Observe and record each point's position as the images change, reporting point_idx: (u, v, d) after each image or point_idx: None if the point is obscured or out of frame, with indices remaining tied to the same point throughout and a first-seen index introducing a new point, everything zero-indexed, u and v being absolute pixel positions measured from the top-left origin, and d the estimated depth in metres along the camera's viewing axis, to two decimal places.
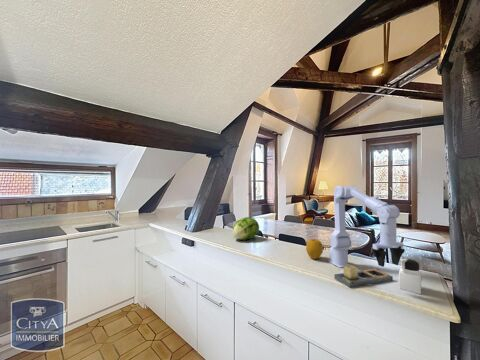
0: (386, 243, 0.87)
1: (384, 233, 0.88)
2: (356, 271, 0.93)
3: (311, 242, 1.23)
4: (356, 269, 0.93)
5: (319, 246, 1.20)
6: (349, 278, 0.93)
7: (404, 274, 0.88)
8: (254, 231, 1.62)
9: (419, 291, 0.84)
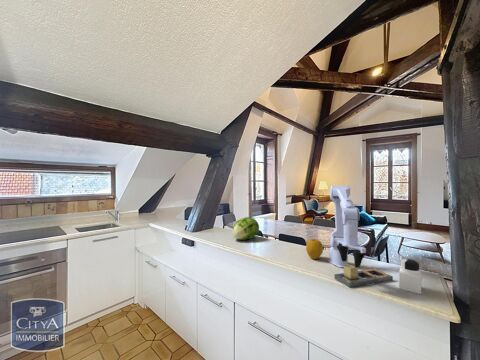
0: None
1: (344, 233, 0.95)
2: (356, 271, 0.93)
3: (311, 242, 1.23)
4: (356, 269, 0.93)
5: (319, 246, 1.20)
6: (349, 278, 0.93)
7: (404, 274, 0.88)
8: (254, 231, 1.62)
9: (419, 291, 0.84)
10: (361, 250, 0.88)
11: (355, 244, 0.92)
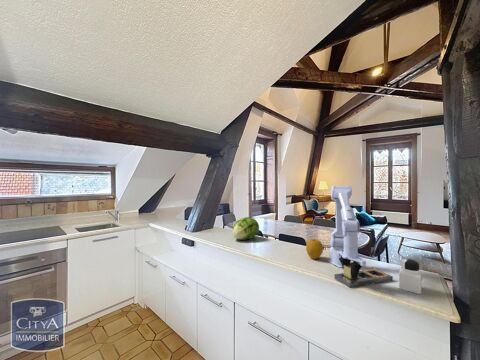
0: None
1: (344, 245, 0.95)
2: None
3: (311, 242, 1.23)
4: None
5: (319, 246, 1.20)
6: (349, 278, 0.93)
7: (404, 274, 0.88)
8: (254, 231, 1.62)
9: (419, 291, 0.84)
10: (361, 263, 0.88)
11: (355, 256, 0.92)
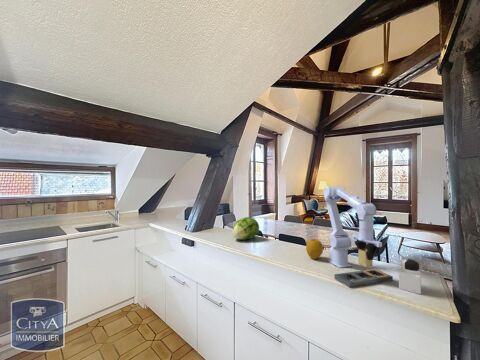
0: None
1: (362, 229, 0.97)
2: None
3: (311, 242, 1.23)
4: None
5: (319, 246, 1.20)
6: (364, 261, 0.96)
7: (404, 274, 0.88)
8: (254, 231, 1.62)
9: (419, 291, 0.84)
10: (377, 244, 0.91)
11: (371, 239, 0.95)
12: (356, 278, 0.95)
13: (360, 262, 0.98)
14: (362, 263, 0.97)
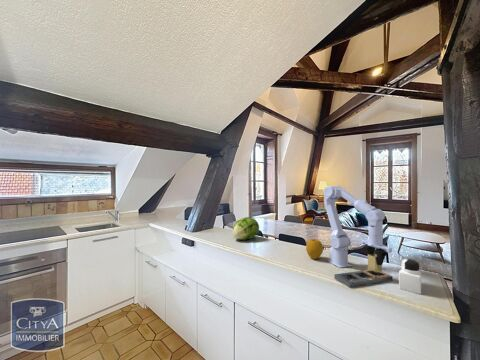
0: None
1: (373, 235, 0.98)
2: None
3: (311, 242, 1.23)
4: None
5: (319, 246, 1.20)
6: (374, 266, 0.97)
7: (404, 274, 0.88)
8: (254, 231, 1.62)
9: (419, 291, 0.84)
10: (387, 250, 0.93)
11: (380, 244, 0.97)
12: (356, 278, 0.95)
13: (369, 267, 0.99)
14: (372, 268, 0.98)
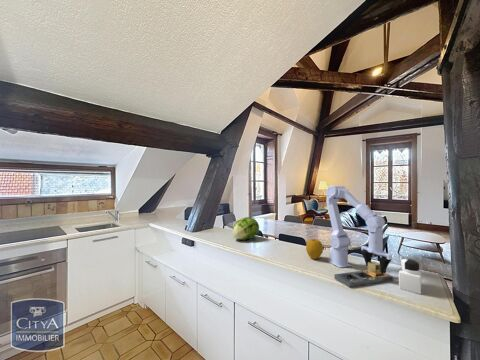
0: None
1: (373, 241, 0.98)
2: None
3: (311, 242, 1.23)
4: None
5: (319, 246, 1.20)
6: (374, 274, 0.97)
7: (404, 274, 0.88)
8: (254, 231, 1.62)
9: (419, 291, 0.84)
10: (387, 257, 0.92)
11: (380, 251, 0.97)
12: (356, 278, 0.95)
13: None
14: None
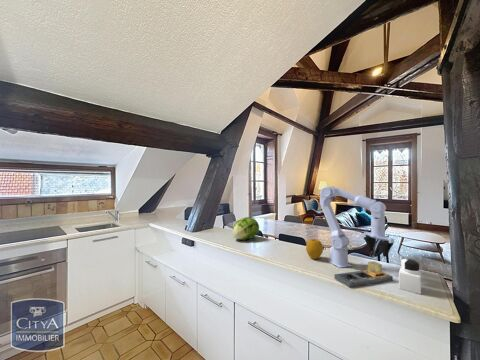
0: None
1: (377, 226, 1.00)
2: (380, 268, 0.97)
3: (311, 242, 1.23)
4: (380, 266, 0.97)
5: (319, 246, 1.20)
6: (374, 274, 0.97)
7: (404, 274, 0.88)
8: (254, 231, 1.62)
9: (419, 291, 0.84)
10: (390, 240, 0.96)
11: (383, 235, 1.00)
12: (356, 278, 0.95)
13: None
14: None
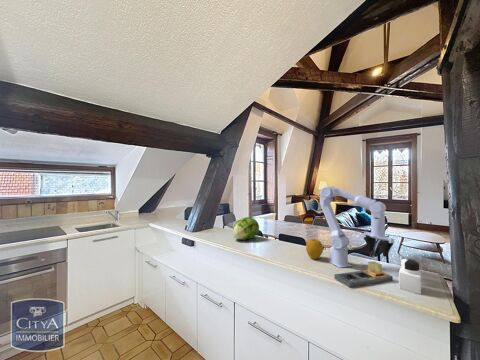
0: None
1: (377, 226, 1.00)
2: (380, 268, 0.97)
3: (311, 242, 1.23)
4: (380, 266, 0.97)
5: (319, 246, 1.20)
6: (374, 274, 0.97)
7: (404, 274, 0.88)
8: (254, 231, 1.62)
9: (419, 291, 0.84)
10: (390, 240, 0.96)
11: (383, 235, 1.00)
12: (356, 278, 0.95)
13: None
14: None
